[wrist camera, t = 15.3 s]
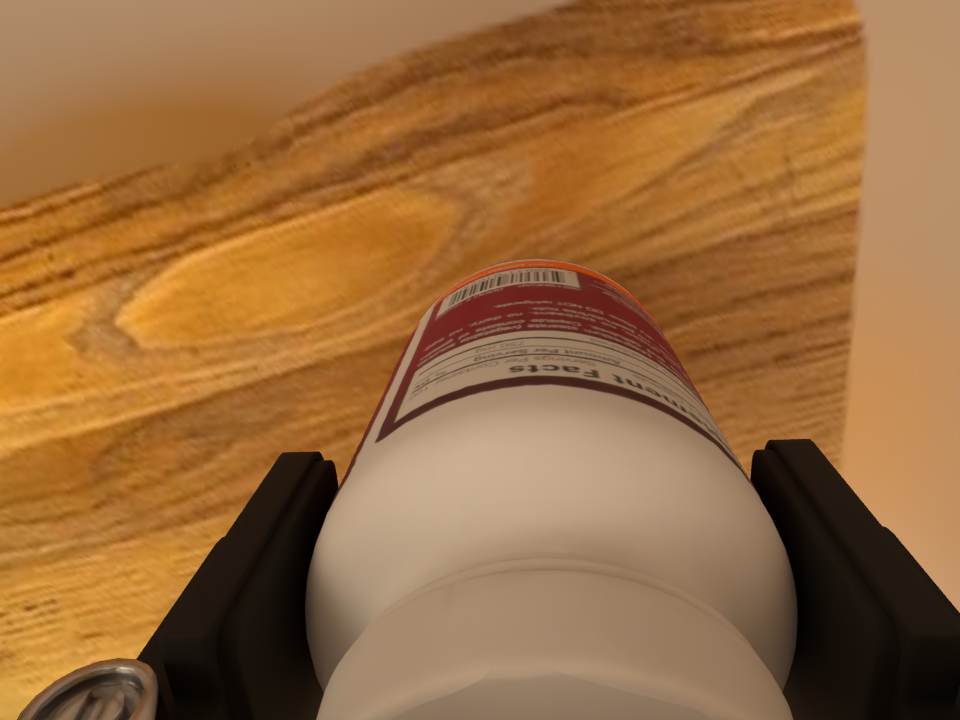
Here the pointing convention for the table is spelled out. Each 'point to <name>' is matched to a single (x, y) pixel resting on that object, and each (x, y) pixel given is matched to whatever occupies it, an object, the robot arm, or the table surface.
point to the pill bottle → (547, 526)
